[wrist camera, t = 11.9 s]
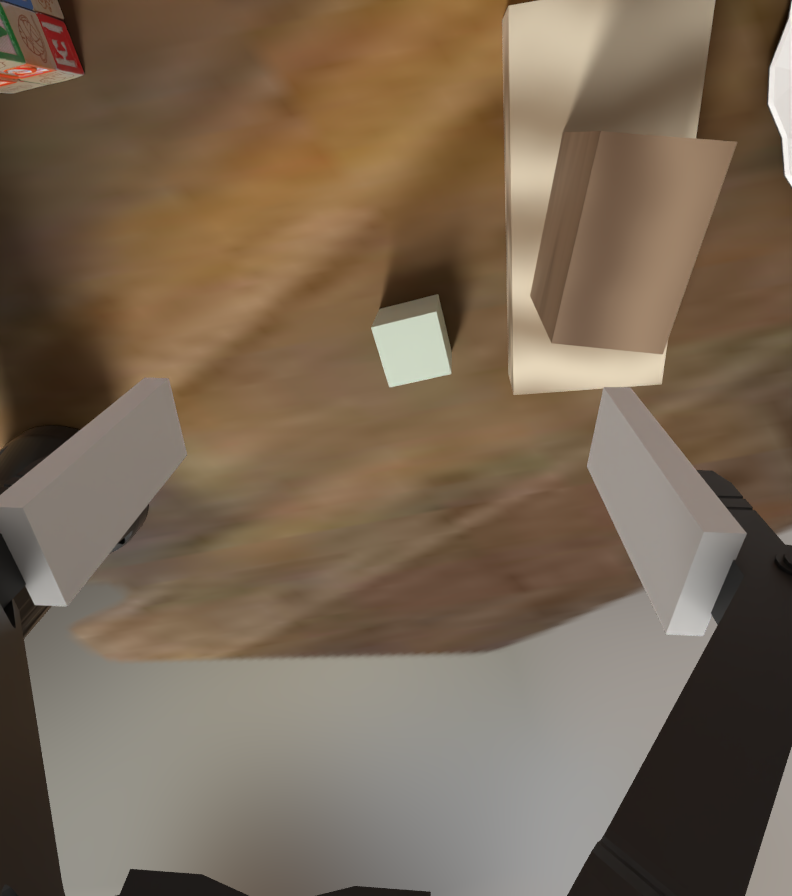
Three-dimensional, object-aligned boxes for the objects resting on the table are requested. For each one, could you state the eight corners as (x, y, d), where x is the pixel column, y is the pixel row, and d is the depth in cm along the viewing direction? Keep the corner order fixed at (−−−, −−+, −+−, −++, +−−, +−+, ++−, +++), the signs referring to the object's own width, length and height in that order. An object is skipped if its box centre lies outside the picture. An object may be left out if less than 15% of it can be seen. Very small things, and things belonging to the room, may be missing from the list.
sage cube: (451, 351, 45) (451, 373, 40) (395, 363, 46) (389, 387, 42) (438, 293, 42) (436, 311, 38) (379, 308, 43) (371, 327, 39)
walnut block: (662, 140, 32) (737, 142, 23) (615, 304, 37) (662, 354, 28) (562, 132, 32) (600, 131, 24) (529, 295, 37) (551, 343, 29)
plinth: (641, 360, 44) (661, 384, 40) (507, 370, 46) (513, 394, 41) (684, -10, 32) (719, -32, 28) (501, 22, 34) (508, 5, 29)
